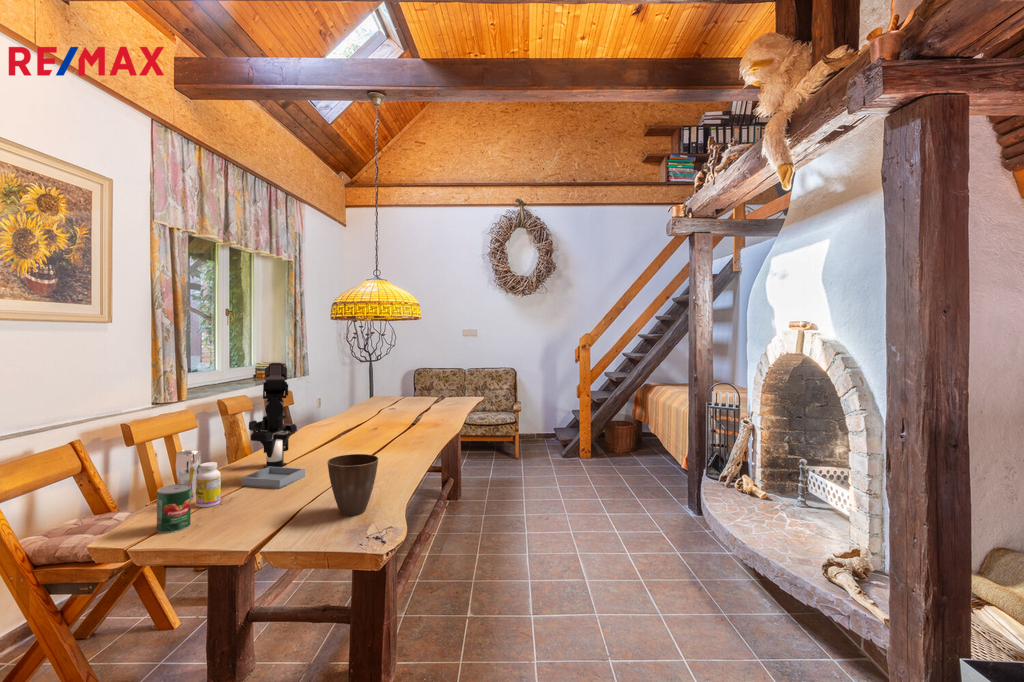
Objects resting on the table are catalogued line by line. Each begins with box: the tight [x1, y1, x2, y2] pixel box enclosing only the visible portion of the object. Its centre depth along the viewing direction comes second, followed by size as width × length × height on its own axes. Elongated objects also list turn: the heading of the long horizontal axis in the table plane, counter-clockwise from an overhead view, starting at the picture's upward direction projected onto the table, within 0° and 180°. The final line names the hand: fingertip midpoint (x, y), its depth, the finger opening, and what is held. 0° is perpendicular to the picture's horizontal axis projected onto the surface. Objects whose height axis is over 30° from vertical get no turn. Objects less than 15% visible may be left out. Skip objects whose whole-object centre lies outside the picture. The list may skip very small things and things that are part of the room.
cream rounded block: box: [266, 439, 282, 462], centre depth 181 cm, size 5×5×7 cm
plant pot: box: [326, 453, 379, 516], centre depth 152 cm, size 15×15×16 cm
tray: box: [241, 466, 306, 490], centre depth 181 cm, size 15×15×3 cm
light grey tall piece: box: [175, 449, 202, 500], centre depth 162 cm, size 7×7×15 cm
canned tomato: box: [156, 483, 192, 534], centre depth 138 cm, size 8×8×11 cm
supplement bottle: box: [195, 461, 222, 508], centre depth 156 cm, size 7×7×13 cm
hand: (274, 455), depth 181 cm, fingers closed on cream rounded block, 5 cm apart
